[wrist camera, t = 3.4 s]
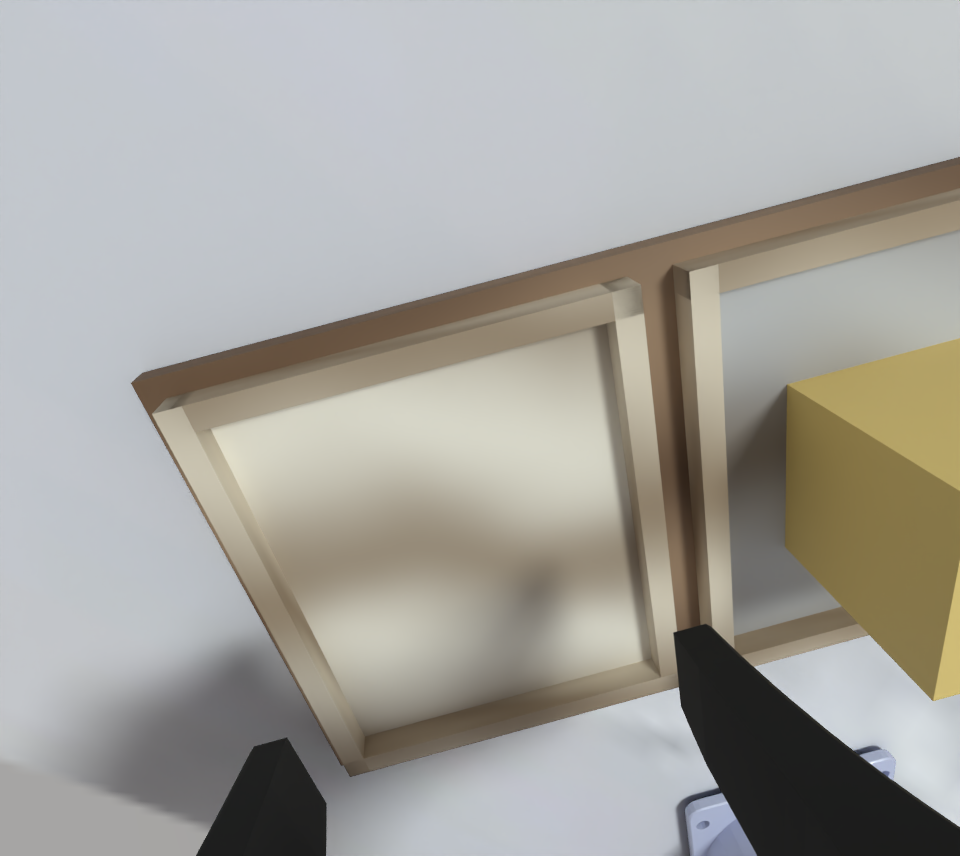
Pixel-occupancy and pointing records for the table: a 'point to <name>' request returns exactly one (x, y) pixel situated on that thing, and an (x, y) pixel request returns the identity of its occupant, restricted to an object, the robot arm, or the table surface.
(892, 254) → the organizer board
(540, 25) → the table surface
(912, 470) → the letter cube
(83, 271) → the table surface
